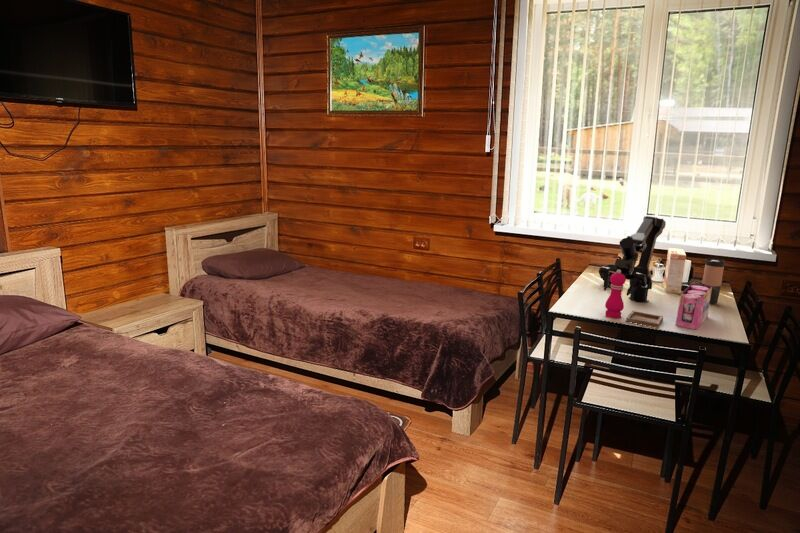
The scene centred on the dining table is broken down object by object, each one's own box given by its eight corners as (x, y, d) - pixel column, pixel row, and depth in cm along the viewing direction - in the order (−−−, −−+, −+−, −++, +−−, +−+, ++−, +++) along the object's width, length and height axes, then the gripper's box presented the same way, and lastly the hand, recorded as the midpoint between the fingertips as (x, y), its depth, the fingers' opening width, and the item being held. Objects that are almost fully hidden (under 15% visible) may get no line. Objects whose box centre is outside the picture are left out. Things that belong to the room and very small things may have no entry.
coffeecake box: (662, 284, 286) (668, 247, 281) (678, 286, 283) (683, 249, 279) (664, 292, 272) (670, 253, 268) (680, 294, 270) (686, 254, 265)
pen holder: (598, 284, 283) (600, 265, 280) (612, 282, 287) (614, 263, 284) (612, 289, 275) (615, 269, 272) (626, 287, 278) (629, 268, 276)
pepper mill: (623, 319, 229) (630, 272, 224) (605, 317, 230) (611, 270, 225) (620, 314, 236) (626, 268, 231) (602, 312, 237) (608, 266, 232)
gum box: (695, 331, 217) (701, 298, 214) (674, 326, 222) (679, 294, 219) (707, 317, 236) (712, 286, 233) (687, 313, 241) (692, 282, 237)
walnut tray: (631, 314, 235) (632, 310, 235) (662, 320, 229) (663, 316, 229) (625, 322, 225) (626, 317, 225) (657, 328, 219) (658, 324, 219)
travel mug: (717, 301, 259) (724, 259, 255) (718, 305, 253) (725, 262, 248) (698, 298, 263) (705, 257, 258) (699, 303, 256) (706, 260, 251)
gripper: (602, 247, 236) (589, 277, 230) (648, 255, 224) (636, 286, 219) (607, 263, 244) (594, 292, 238) (652, 270, 232) (640, 301, 226)
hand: (615, 292), depth 230 cm, fingers open, 9 cm apart
